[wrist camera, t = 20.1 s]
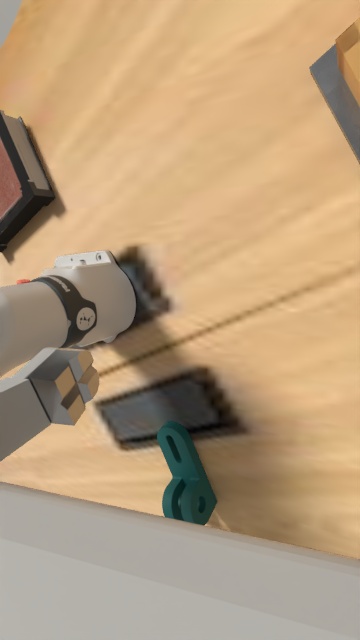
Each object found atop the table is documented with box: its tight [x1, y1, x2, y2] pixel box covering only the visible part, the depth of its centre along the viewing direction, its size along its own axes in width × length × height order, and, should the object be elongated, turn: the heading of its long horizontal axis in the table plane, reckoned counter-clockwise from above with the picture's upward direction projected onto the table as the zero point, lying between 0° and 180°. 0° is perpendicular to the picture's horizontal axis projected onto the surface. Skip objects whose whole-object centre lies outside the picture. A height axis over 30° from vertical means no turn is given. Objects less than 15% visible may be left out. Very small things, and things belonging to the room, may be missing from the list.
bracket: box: [157, 421, 217, 525], centre depth 54 cm, size 18×7×8 cm, turn 26°
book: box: [0, 110, 55, 252], centre depth 61 cm, size 26×18×5 cm
